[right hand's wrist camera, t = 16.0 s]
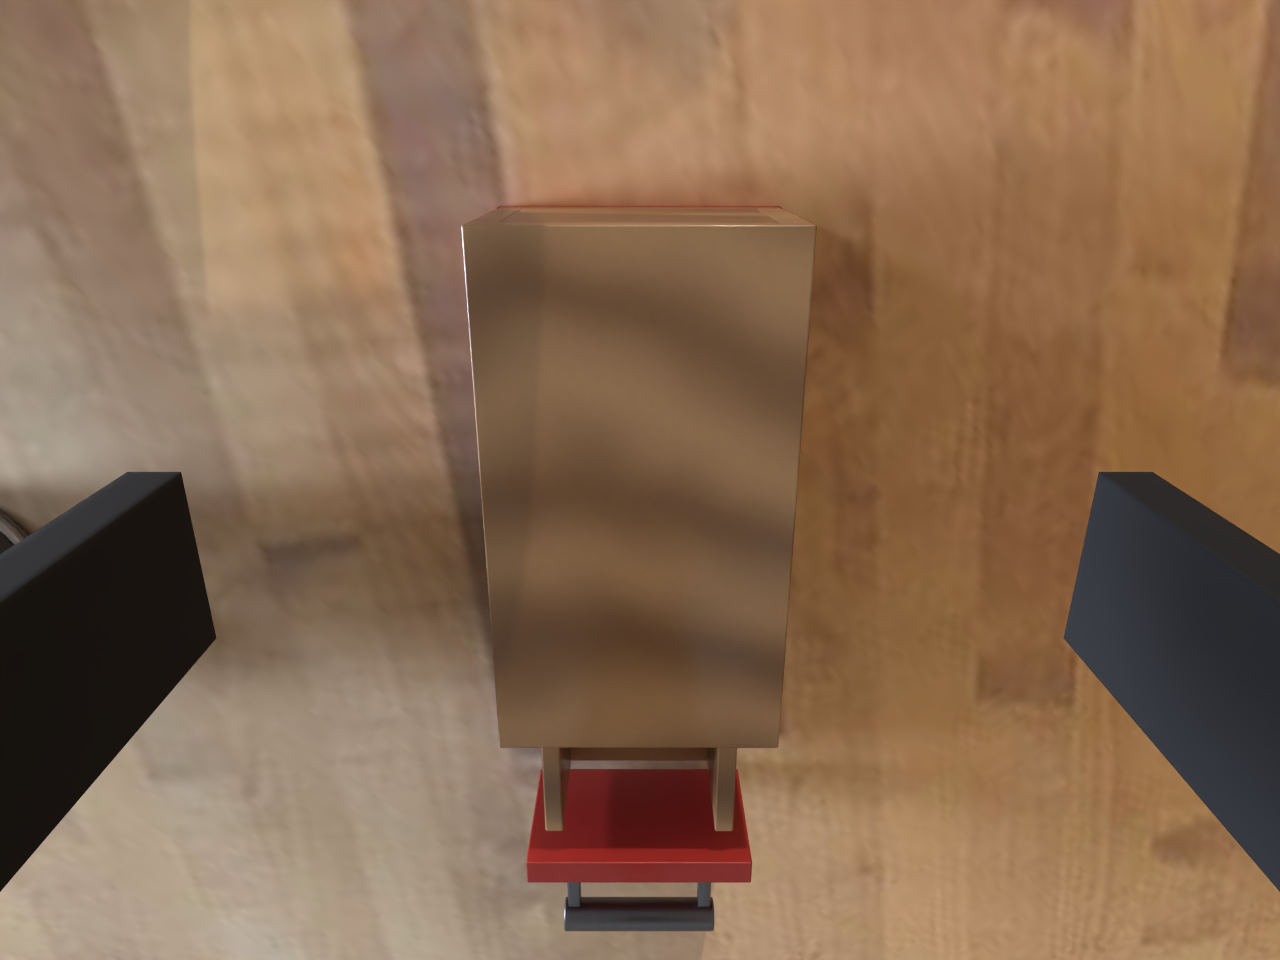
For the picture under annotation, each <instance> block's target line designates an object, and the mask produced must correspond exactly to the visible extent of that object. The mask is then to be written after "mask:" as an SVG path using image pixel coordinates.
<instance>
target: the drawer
mask: <svg viewBox="0 0 1280 960" xmlns="http://www.w3.org/2000/svg"><path fill="white" fill-rule="evenodd" d="M541 751H542V769H541V772H540V778H539V785H538V791H537V797H536V804H535V810H534V816H533V823H532V829H531V835H530V842H529V848H528V854H527V861H526V868H527V881H528V882H568V897H566V899H565V909H564V929H565V931H713V930H714V904H713V899H712V897H710V890H711V882H751V871H752V859H751V853H750V847H749V840H748V834H747V827H746V821H745V814H744V808H743V801H742V795H741V788H740V782H739V775H738V770H737V769H736V756H737V748H541ZM571 760H707V761H708V769H570V765H571ZM581 882H698V888H697V897H581Z"/></svg>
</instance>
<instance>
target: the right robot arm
mask: <svg viewBox="0 0 1280 960" xmlns="http://www.w3.org/2000/svg"><path fill="white" fill-rule="evenodd" d="M215 639H216V635H215V630H214V625H213V621H212V616H211V611H210V607H209V602H208V597H207V592H206V588H205V583H204V578H203V574H202V569H201V564H200V559H199V555H198V550H197V545H196V541H195V536H194V531H193V526H192V522H191V517H190V512H189V508H188V503H187V498H186V493H185V489H184V484H183V479H182V475H181V472H127V473H125V474H124V475H122V476H121V477H119V478H117V479H116V480H114V481H113V482H111V483H110V484H108V485H107V486H105V487H104V488H102V489H100V490H99V491H97V492H96V493H94V494H93V495H91V496H90V497H88V498H87V499H85V500H83V501H82V502H80V503H79V504H77V505H76V506H74V507H73V508H71V509H70V510H68V511H66V512H65V513H63V514H62V515H60V516H59V517H57V518H56V519H54V520H52V521H51V522H49V523H48V524H46V525H45V526H43V527H42V528H40V529H39V530H37V531H35V532H34V533H32V534H31V535H29V536H28V537H26V538H25V539H23V540H22V541H20V542H18V543H17V544H15V545H14V546H12V547H11V548H9V549H8V550H6V551H4V552H3V553H1V554H0V891H1V890H2V889H3V888H4V887H5V885H6V884H7V883H8V882H9V881H10V880H11V878H12V877H13V876H14V875H15V874H16V873H17V871H18V870H19V869H20V868H21V867H22V866H23V864H24V863H25V862H26V861H27V860H28V858H29V857H30V856H31V855H32V854H33V853H34V851H35V850H36V849H37V848H38V847H39V846H40V844H41V843H42V842H43V841H44V840H45V839H46V837H47V836H48V835H49V834H50V833H51V831H52V830H53V829H54V828H55V827H56V826H57V824H58V823H59V822H60V821H61V820H62V819H63V817H64V816H65V815H66V814H67V813H68V812H69V810H70V809H71V808H72V807H73V806H74V804H75V803H76V802H77V801H78V800H79V799H80V797H81V796H82V795H83V794H84V793H85V792H86V790H87V789H88V788H89V787H90V786H91V785H92V783H93V782H94V781H95V780H96V779H97V778H98V776H99V775H100V774H101V773H102V772H103V770H104V769H105V768H106V767H107V766H108V765H109V763H110V762H111V761H112V760H113V759H114V758H115V756H116V755H117V754H118V753H119V752H120V751H121V749H122V748H123V747H124V746H125V745H126V743H127V742H128V741H129V740H130V739H131V738H132V736H133V735H134V734H135V733H136V732H137V731H138V729H139V728H140V727H141V726H142V725H143V724H144V722H145V721H146V720H147V719H148V718H149V716H150V715H151V714H152V713H153V712H154V711H155V709H156V708H157V707H158V706H159V705H160V704H161V702H162V701H163V700H164V699H165V698H166V697H167V695H168V694H169V693H170V692H171V691H172V689H173V688H174V687H175V686H176V685H177V684H178V682H179V681H180V680H181V679H182V678H183V677H184V675H185V674H186V673H187V672H188V671H189V670H190V668H191V667H192V666H193V665H194V664H195V663H196V661H197V660H198V659H199V658H200V657H201V655H202V654H203V653H204V652H205V651H206V650H207V648H208V647H209V646H210V645H211V644H212V643H213V641H214V640H215ZM1064 639H1065V640H1066V641H1067V643H1068V644H1069V645H1070V646H1071V647H1072V648H1073V650H1074V651H1075V652H1076V653H1077V654H1078V655H1079V657H1080V658H1081V659H1082V660H1083V661H1084V663H1085V664H1086V665H1087V666H1088V667H1089V668H1090V670H1091V671H1092V672H1093V673H1094V674H1095V675H1096V677H1097V678H1098V679H1099V680H1100V681H1101V682H1102V684H1103V685H1104V686H1105V687H1106V688H1107V689H1108V691H1109V692H1110V693H1111V694H1112V695H1113V697H1114V698H1115V699H1116V700H1117V701H1118V702H1119V704H1120V705H1121V706H1122V707H1123V708H1124V709H1125V711H1126V712H1127V713H1128V714H1129V715H1130V716H1131V718H1132V719H1133V720H1134V721H1135V722H1136V724H1137V725H1138V726H1139V727H1140V728H1141V729H1142V731H1143V732H1144V733H1145V734H1146V735H1147V736H1148V738H1149V739H1150V740H1151V741H1152V742H1153V743H1154V745H1155V746H1156V747H1157V748H1158V749H1159V751H1160V752H1161V753H1162V754H1163V755H1164V756H1165V758H1166V759H1167V760H1168V761H1169V762H1170V763H1171V765H1172V766H1173V767H1174V768H1175V769H1176V770H1177V772H1178V773H1179V774H1180V775H1181V776H1182V778H1183V779H1184V780H1185V781H1186V782H1187V783H1188V785H1189V786H1190V787H1191V788H1192V789H1193V790H1194V792H1195V793H1196V794H1197V795H1198V796H1199V797H1200V799H1201V800H1202V801H1203V802H1204V803H1205V804H1206V806H1207V807H1208V808H1209V809H1210V810H1211V812H1212V813H1213V814H1214V815H1215V816H1216V817H1217V819H1218V820H1219V821H1220V822H1221V823H1222V824H1223V826H1224V827H1225V828H1226V829H1227V830H1228V831H1229V833H1230V834H1231V835H1232V836H1233V837H1234V839H1235V840H1236V841H1237V842H1238V843H1239V844H1240V846H1241V847H1242V848H1243V849H1244V850H1245V851H1246V853H1247V854H1248V855H1249V856H1250V857H1251V858H1252V860H1253V861H1254V862H1255V863H1256V864H1257V866H1258V867H1259V868H1260V869H1261V870H1262V871H1263V873H1264V874H1265V875H1266V876H1267V877H1268V878H1269V880H1270V881H1271V882H1272V883H1273V884H1274V885H1275V887H1276V888H1277V889H1278V890H1279V891H1280V554H1279V553H1277V552H1276V551H1274V550H1272V549H1271V548H1269V547H1268V546H1266V545H1265V544H1263V543H1262V542H1260V541H1258V540H1257V539H1255V538H1254V537H1252V536H1251V535H1249V534H1248V533H1246V532H1245V531H1243V530H1241V529H1240V528H1238V527H1237V526H1235V525H1234V524H1232V523H1231V522H1229V521H1228V520H1226V519H1224V518H1223V517H1221V516H1220V515H1218V514H1217V513H1215V512H1214V511H1212V510H1210V509H1209V508H1207V507H1206V506H1204V505H1203V504H1201V503H1200V502H1198V501H1197V500H1195V499H1193V498H1192V497H1190V496H1189V495H1187V494H1186V493H1184V492H1183V491H1181V490H1180V489H1178V488H1176V487H1175V486H1173V485H1172V484H1170V483H1169V482H1167V481H1166V480H1164V479H1163V478H1161V477H1159V476H1158V475H1156V474H1155V473H1153V472H1099V475H1098V479H1097V484H1096V489H1095V493H1094V498H1093V503H1092V508H1091V512H1090V517H1089V522H1088V526H1087V531H1086V536H1085V541H1084V545H1083V550H1082V555H1081V559H1080V564H1079V569H1078V574H1077V578H1076V583H1075V588H1074V592H1073V597H1072V602H1071V607H1070V611H1069V616H1068V621H1067V625H1066V630H1065V635H1064Z"/></svg>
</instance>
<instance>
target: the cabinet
mask: <svg viewBox="0 0 1280 960" xmlns="http://www.w3.org/2000/svg"><path fill="white" fill-rule="evenodd" d="M461 229H462V242H463V256H464V269H465V283H466V296H467V310H468V323H469V337H470V350H471V364H472V377H473V391H474V404H475V418H476V431H477V445H478V458H479V472H480V485H481V499H482V512H483V526H484V539H485V553H486V566H487V580H488V593H489V607H490V620H491V634H492V647H493V661H494V674H495V688H496V701H497V715H498V728H499V742H500V747H501V748H777V747H778V744H779V730H780V716H781V703H782V689H783V676H784V662H785V649H786V635H787V622H788V608H789V595H790V581H791V568H792V554H793V540H794V527H795V513H796V500H797V486H798V473H799V459H800V446H801V432H802V419H803V405H804V392H805V378H806V364H807V351H808V337H809V324H810V310H811V297H812V283H813V270H814V256H815V243H816V229H817V226H816V225H814V224H812V223H810V222H808V221H806V220H804V219H802V218H800V217H798V216H796V215H794V214H792V213H790V212H788V211H786V210H783V209H782V208H781V207H779V206H499V207H497V209H496V210H493V211H491V212H489V213H487V214H485V215H483V216H481V217H479V218H477V219H475V220H473V221H471V222H468V223H466V224H464V225H462V226H461Z"/></svg>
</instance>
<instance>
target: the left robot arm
mask: <svg viewBox="0 0 1280 960" xmlns="http://www.w3.org/2000/svg"><path fill="white" fill-rule="evenodd" d="M26 537H28V534H27V533H26V532H25V531H24V530H23V529H22V528H21V527H20V526H18V525H17V524H16V523H15V522H14V521H13V520H11V519H10V518H9V517H7V516H6V515H5V514H3V513H2V512H0V554H1V553H3V552H4V551H6V550H8V549H9V548H11V547H12V546H14V545H15V544H17V543H18V542H20V541H22V540H23V539H25V538H26Z"/></svg>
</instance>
